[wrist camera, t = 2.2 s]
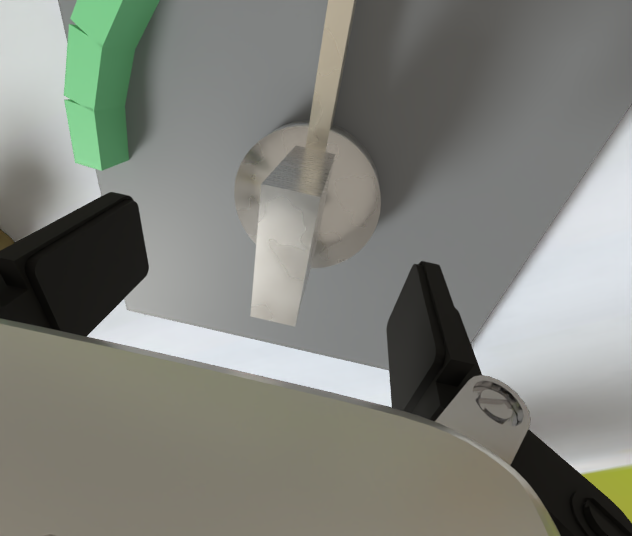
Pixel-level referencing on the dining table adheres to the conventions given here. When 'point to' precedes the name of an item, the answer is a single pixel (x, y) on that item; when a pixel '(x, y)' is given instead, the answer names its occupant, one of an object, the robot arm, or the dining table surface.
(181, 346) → the dining table surface
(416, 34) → the dial board
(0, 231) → the cork
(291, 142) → the knob
